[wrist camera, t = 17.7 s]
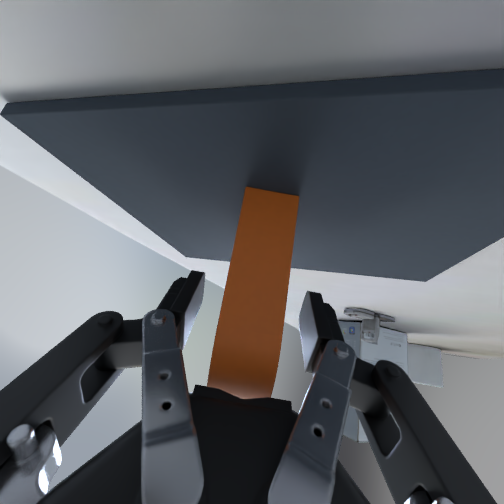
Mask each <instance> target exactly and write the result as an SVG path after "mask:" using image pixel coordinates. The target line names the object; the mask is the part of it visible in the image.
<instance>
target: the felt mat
mask: <svg viewBox="0 0 504 504" xmlns="http://www.w3.org/2000/svg"><path fill="white" fill-rule="evenodd" d="M0 115H1V116H2V117H4V118H5V119H6V120H8V121H9V122H10V123H12V124H13V125H14V126H15V127H17V128H18V129H19V130H21V131H22V132H23V133H25V134H26V135H27V136H29V137H30V138H31V139H32V140H34V141H35V142H36V143H38V144H39V145H40V146H42V147H43V148H44V149H45V150H47V151H48V152H49V153H51V154H52V155H53V156H55V157H56V158H57V159H59V160H60V161H61V162H62V163H64V164H65V165H66V166H68V167H69V168H70V169H72V170H73V171H74V172H76V173H77V174H78V175H79V176H81V177H82V178H83V179H85V180H86V181H87V182H89V183H90V184H91V185H93V186H94V187H95V188H96V189H98V190H99V191H100V192H102V193H103V194H104V195H106V196H107V197H108V198H110V199H111V200H112V201H113V202H115V203H116V204H117V205H119V206H120V207H121V208H123V209H124V210H125V211H127V212H128V213H129V214H130V215H132V216H133V217H134V218H136V219H137V220H138V221H140V222H141V223H142V224H143V225H145V226H146V227H147V228H149V229H150V230H151V231H153V232H154V233H155V234H157V235H158V236H159V237H160V238H162V239H163V240H164V241H166V242H167V243H168V244H170V245H171V246H172V247H174V248H175V249H176V250H177V251H179V252H180V253H181V254H183V255H184V256H185V257H190V258H200V259H210V260H220V261H229V262H230V261H231V257H232V252H233V247H234V242H235V237H236V232H237V227H238V222H239V217H240V212H241V207H242V202H243V197H244V192H245V188H246V187H251V188H257V189H262V190H268V191H273V192H279V193H284V194H290V195H296V196H299V204H298V212H297V220H296V228H295V236H294V245H293V253H292V261H291V268H297V269H307V270H317V271H326V272H336V273H346V274H355V275H365V276H375V277H385V278H394V279H404V280H414V281H423V282H426V281H428V280H429V279H431V278H433V277H435V276H436V275H438V274H440V273H442V272H443V271H445V270H447V269H449V268H450V267H452V266H454V265H456V264H457V263H459V262H461V261H463V260H464V259H466V258H468V257H470V256H471V255H473V254H475V253H477V252H478V251H480V250H482V249H484V248H485V247H487V246H489V245H491V244H492V243H494V242H496V241H498V240H499V239H501V238H503V237H504V69H493V70H479V71H464V72H450V73H435V74H421V75H406V76H392V77H377V78H363V79H349V80H334V81H320V82H305V83H291V84H276V85H262V86H247V87H233V88H219V89H204V90H190V91H175V92H161V93H146V94H132V95H117V96H103V97H88V98H74V99H60V100H45V101H31V102H16V103H7V104H6V105H5V107H4V108H3V110H2V112H1V113H0Z"/></svg>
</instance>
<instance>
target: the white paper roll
mask: <svg viewBox="0 0 504 504" xmlns="http://www.w3.org/2000/svg"><path fill="white" fill-rule="evenodd" d="M407 344H408V376H409V378H410V379H411V381H412V382H415V383H420V384H425V385H431V386H436V387H443V373H442V358H441V350H440V349H438V348H433V347H429V346H423V345H417V344H409V343H407Z"/></svg>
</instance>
